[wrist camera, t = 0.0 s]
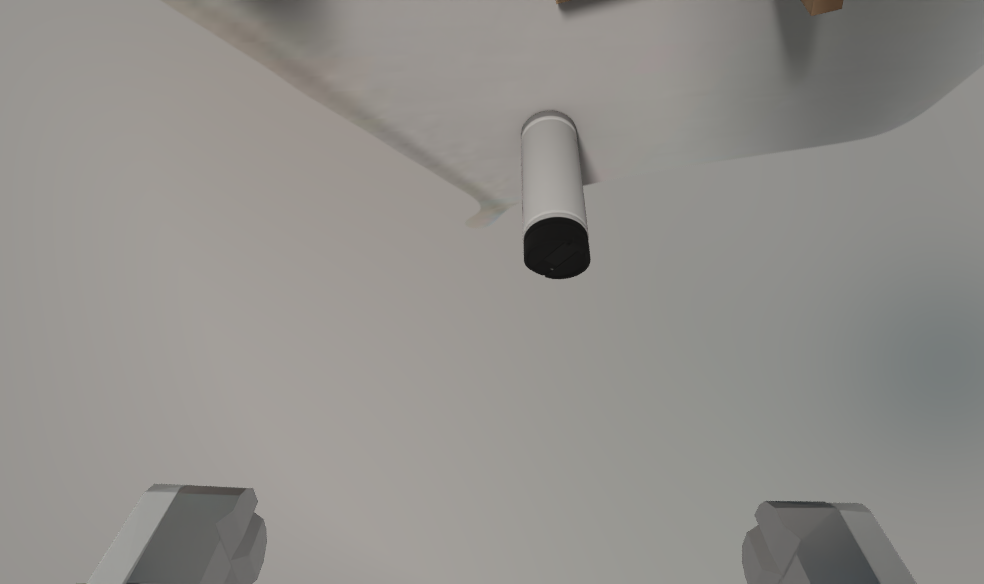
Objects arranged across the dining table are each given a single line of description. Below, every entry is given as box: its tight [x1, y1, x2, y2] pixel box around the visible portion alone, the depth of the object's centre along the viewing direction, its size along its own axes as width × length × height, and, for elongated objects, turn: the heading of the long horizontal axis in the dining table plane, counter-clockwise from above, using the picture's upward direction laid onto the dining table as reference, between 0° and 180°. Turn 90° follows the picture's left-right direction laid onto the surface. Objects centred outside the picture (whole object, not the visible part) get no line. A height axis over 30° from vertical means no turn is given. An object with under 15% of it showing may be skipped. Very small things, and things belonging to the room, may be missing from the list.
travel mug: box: [521, 111, 590, 279], centre depth 59 cm, size 6×7×20 cm
